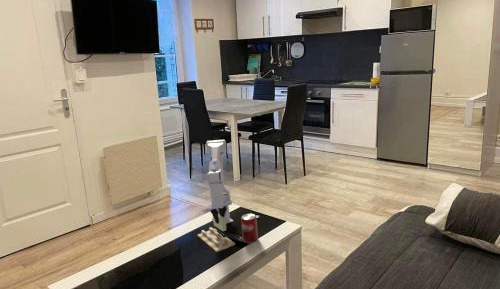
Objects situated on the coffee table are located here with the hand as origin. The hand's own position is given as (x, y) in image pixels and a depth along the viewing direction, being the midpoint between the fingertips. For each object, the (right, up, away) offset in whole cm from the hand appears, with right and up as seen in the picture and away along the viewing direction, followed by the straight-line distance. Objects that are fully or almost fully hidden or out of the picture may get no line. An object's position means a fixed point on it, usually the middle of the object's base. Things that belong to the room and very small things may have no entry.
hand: (219, 222), depth 177 cm
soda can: (+15, -8, -2) cm, 17 cm away
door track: (-2, -9, +1) cm, 9 cm away
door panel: (0, -3, +1) cm, 3 cm away
